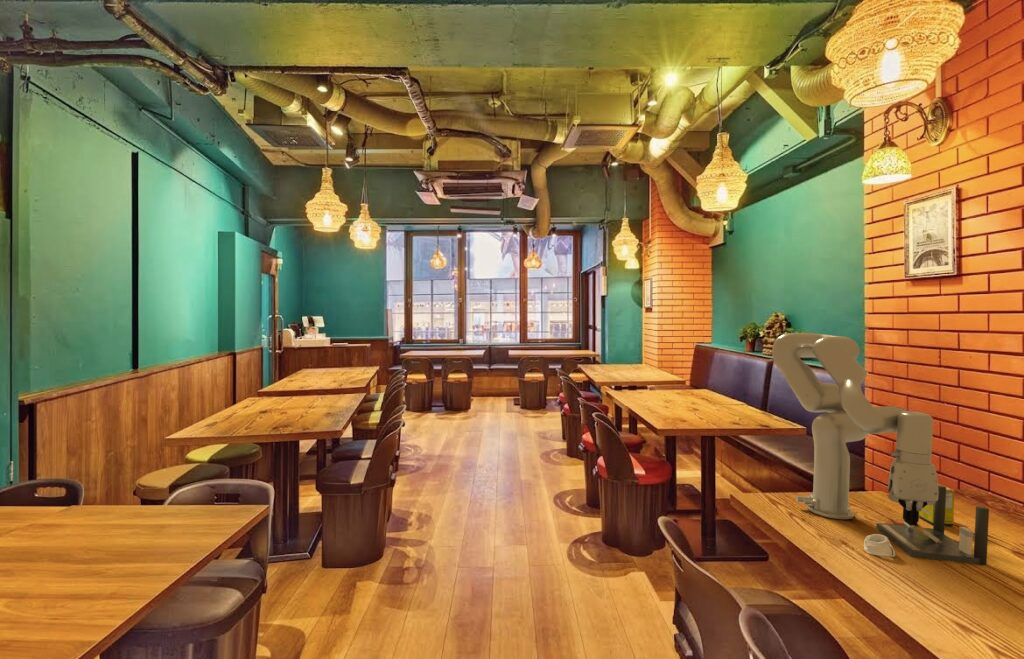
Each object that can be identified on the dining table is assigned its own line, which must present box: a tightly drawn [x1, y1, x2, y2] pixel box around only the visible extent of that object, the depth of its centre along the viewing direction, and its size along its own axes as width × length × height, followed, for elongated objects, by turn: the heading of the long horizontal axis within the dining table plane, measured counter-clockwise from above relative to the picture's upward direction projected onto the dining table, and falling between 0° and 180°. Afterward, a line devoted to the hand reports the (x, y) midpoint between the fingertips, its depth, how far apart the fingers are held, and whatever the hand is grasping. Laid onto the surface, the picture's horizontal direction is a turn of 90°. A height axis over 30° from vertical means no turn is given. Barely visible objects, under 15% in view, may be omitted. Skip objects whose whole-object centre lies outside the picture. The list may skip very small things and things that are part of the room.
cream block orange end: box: [913, 523, 939, 543], centre depth 134 cm, size 1×3×6 cm
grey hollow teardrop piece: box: [863, 533, 896, 558], centre depth 129 cm, size 8×7×5 cm
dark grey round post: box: [932, 484, 990, 566], centre depth 132 cm, size 2×19×14 cm, turn 168°
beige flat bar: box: [903, 520, 914, 528], centre depth 141 cm, size 1×3×6 cm, turn 168°
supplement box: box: [919, 483, 955, 527], centre depth 150 cm, size 6×6×11 cm
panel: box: [875, 522, 980, 565], centre depth 134 cm, size 15×18×2 cm
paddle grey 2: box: [958, 526, 974, 555], centre depth 126 cm, size 1×3×6 cm, turn 168°
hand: (910, 523), depth 135 cm, fingers closed
